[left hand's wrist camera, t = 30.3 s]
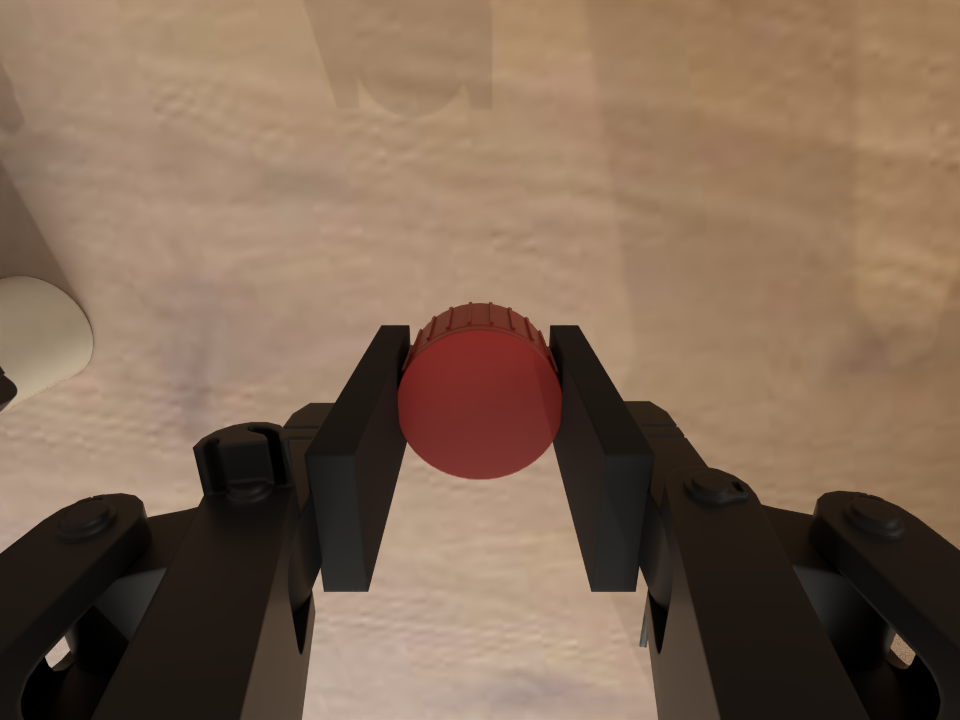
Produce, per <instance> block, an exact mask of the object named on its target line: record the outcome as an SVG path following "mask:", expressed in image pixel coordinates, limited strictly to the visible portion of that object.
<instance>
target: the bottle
mask: <svg viewBox="0 0 960 720" xmlns="http://www.w3.org/2000/svg"><path fill="white" fill-rule="evenodd" d="M92 352H93V335H92V330H91V327H90V324H89V322H88V320H87V318H86V316H85V314H84V313H83V311H82V310H81V309H80V307H79V306H78V305H77V304H76V303H75V301H74V300H73V299H72V298H71V297H69V296H68V295H67V294H66V293H65V292H63V291H62V290H61V289H59V288H57V287H56V286H54V285H52V284H50V283H48V282H46V281H43V280H40V279H37V278H32V277H27V276H11V277H6V278H2V279H0V367H1V368H2V369H3V371H4V372H5V374H4V375H5V376H6V377H7V378H9V379H10V380H11V381H12V382H13V383H14V384H15V385H16V387H17V395H16V396H15V397H14V398H13V400H12V401H11V402H10V403H9V404H8V405H7V406H6V407H5V408H4V409H3V410H2V411H1V412H0V414H1V413H3V412H5V411H7V410H9V409H11V408H13V407H15V406H16V405H18V404H20V403H22V402H24V401H26V400H28V399H30V398H32V397H34V396H36V395H38V394H40V393H42V392H44V391H46V390H48V389H50V388H51V387H53V386H55V385H57V384H59V383H61V382H63V381H65V380H67V379H69V378H71V377H73V376H75V375H76V374H78V373H79V372H81V371H82V370H83V369H84V368H85V367H86V365H87V364H88V362H89V360H90V358H91V355H92Z"/></svg>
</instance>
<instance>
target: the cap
mask: <svg viewBox="0 0 960 720" xmlns="http://www.w3.org/2000/svg"><path fill="white" fill-rule="evenodd" d="M401 372H402V373H403V375H402V378H401V380H400V384H399V387H398V391H397V395H398V412H399V425H400V428H401V430H402V433H403V435H404V437H405V439H406V440H407V442H408V444H409V445H410V446H411V448H412V449H413V450H414V451H415V453H416V454H418V455H419V456H420V457H421V458H422V459H423V460H424V461H425V462H427V463H428V464H430V465H431V466H433V467H434V468H436V469H438V470H440V471H442V472H444V473H447V474H449V475H453V476H456V477H460V478H465V479H475V480H484V479H494V478H500V477H504V476H507V475H510V474H513V473H515V472H518V471H520V470H522V469H523V468H525V467H527V466H529V465H530V464H531V463H533V462H534V461H536V460H537V459H538V458H539V457H540V456H541V455H542V454H543V453H544V452H545V451H546V450H547V448H548V447H549V446H550V444H551V443H552V441H553V440H554V438H555V436H556V434H557V432H558V430H559V427H560V421H561V406H562V388H561V385H560V381H559V378H558V376H557V374H559V371H558V368H557V366H556V363H555V360H554V358H553V355H552V352H551V350H550V347H549V346H548V347H547V346H546V343H545V340H544V338H543V335H542V332H541V331H540V330H539V331H538V330H537V329H536V328H535V327H534V326H533V325H532V324H531V323H530V322H529V319H528V318H527V317H525V318H524V317H523V316H521V315H520V314H518V313H516V312H514V311H512V308H510V307H509V308H505V307H502V306H498V305H493V304H492V302H489V304H484V303H475V304H472V302H469V304H467V305H461V306H458V307H455V308H453V307H450V308H449V310H448V311H445V312H443V313H442V314H440V315H439V316H437V317H435V316H434V317H432V321H431V322H430V323H428V324H427V325H426V327H425V328H424V329H423V330H422V329H420V330H419V332H418V335H417V338H416V341H415V343H414V345H411V346H410V349H409V351H408V354H407V357H406V359H405V362H404V365H403V367H402V370H401Z"/></svg>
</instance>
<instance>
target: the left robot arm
mask: <svg viewBox="0 0 960 720" xmlns="http://www.w3.org/2000/svg"><path fill="white" fill-rule="evenodd" d="M549 347H550V350H551V352H552V355H553V358H554V360H555V363H556V366H557V368H558V371H559V374H557V376H558V378H559V381H560V385H561V388H562V406H561V421H560V427H559V430H558V432H557V434H556V436H555V438H554V440H553V445H554V449H555V453H556V457H557V461H558V464H559V468H560V472H561V476H562V480H563V484H564V488H565V491H566V495H567V499H568V503H569V507H570V511H571V515H572V518H573V522H574V526H575V530H576V534H577V538H578V542H579V545H580V549H581V553H582V557H583V561H584V565H585V569H586V572H587V576H588V580H589V584H590V588H591V592H636V585H637V579H638V572H639V566H640V568H641V571H642V573H643V576H644V578H645V581H646V583H647V586H648V592H647V599H646V605H645V612H644V618H643V624H642V631H641V638H640V645H639V646H640V647H646V646H647V641H648V642H649V650H650V658H651V666H652V673H653V681H654V689H655V697H656V705H657V713H658V720H960V550H958V549H957V548H956V547H955V546H953V545H952V544H951V543H949V542H948V541H947V540H946V539H944V538H943V537H942V536H940V535H939V534H938V533H936V532H935V531H934V530H933V529H931V528H930V527H929V526H927V525H926V524H925V523H923V522H922V521H921V520H920V519H918V518H917V517H915V516H914V515H912V514H910V513H909V512H907V511H906V510H904V509H902V508H901V507H899V506H897V505H894V504H892V503H890V502H887V501H885V500H884V499H882V498H880V497H877V496H873V495H867V494H866V493H860V492H848V491H835V492H829V493H825V494H823V495H822V496H821V497H820V498H819V499H817V503H816V506H815V510H814V513H813V515H809V514H804V513H799V512H794V511H789V510H783V509H778V508H773V507H769V506H765V505H761V503H760V501H759V499H758V497H757V495H756V494H755V493H754V491H753V490H752V489H751V488H750V487H749V485H748V484H746V483H745V482H743V481H742V480H740V479H739V478H737V477H736V476H734V475H731V474H729V473H726V472H724V471H721V470H719V469H714V468H709V467H708V466H707V465H706V464H705V462H704V461H703V460H702V458H701V457H700V456H699V454H698V453H697V452H696V450H695V449H694V448H693V446H692V445H691V443H690V442H689V441H688V439H687V438H684V434H683V433H682V431H681V430H680V429H679V427H676V423H675V422H674V421H673V419H672V418H671V417H670V415H669V414H668V413H667V412H666V411H664V410H663V409H661V408H660V407H658V406H656V405H655V404H653V403H652V402H650V401H623V399H622V398H621V396H620V394H619V393H618V391H617V389H616V388H615V386H614V384H613V383H612V381H611V379H610V378H609V376H608V374H607V373H606V371H605V369H604V368H603V366H602V364H601V363H600V361H599V359H598V358H597V356H596V354H595V353H594V351H593V349H592V348H591V346H590V344H589V343H588V341H587V339H586V338H585V336H584V334H583V333H582V331H581V329H580V328H579V326H578V325H550V341H549ZM409 349H410V328H409V325H381V327H380V329H379V330H378V332H377V334H376V335H375V337H374V339H373V340H372V342H371V344H370V345H369V347H368V349H367V350H366V352H365V354H364V355H363V357H362V359H361V360H360V362H359V364H358V365H357V367H356V369H355V370H354V372H353V374H352V375H351V377H350V379H349V380H348V382H347V384H346V385H345V387H344V389H343V390H342V392H341V394H340V395H339V397H338V399H337V400H336V402H335V403H309V404H308V405H306V406H305V407H303V408H301V409H300V410H298V411H297V412H295V413H293V414H292V416H291V417H290V418H289V420H288V421H287V422H286V424H285V425H284V426H283V427H284V428H283V427H282V426H280V425H277V424H273V423H269V422H249V423H243V424H237V425H232V426H229V427H226V428H223V429H220V430H217V431H215V432H213V433H211V434H210V435H208V436H206V437H204V438H202V439H201V440H200V441H199V442H198V443H197V444H196V445H195V446H194V447H193V450H194V454H195V459H196V463H197V467H198V471H199V476H200V480H201V484H202V488H203V493H204V496H203V498H202V500H201V502H200V504H199V506H198V507H196V508H192V509H188V510H183V511H178V512H173V513H168V514H163V515H158V516H153V517H147V515H146V511H145V508H144V504H143V502H142V501H141V500H140V499H139V498H138V497H136V496H134V495H129V494H123V493H118V494H106V495H105V494H104V495H98V496H93V498H91V497H89V498H86V499H82V500H80V501H78V502H76V503H74V504H72V505H70V506H67V507H65V508H63V509H61V510H59V511H57V512H56V513H54V514H53V515H51V516H49V517H48V518H46V519H45V520H43V521H42V522H40V523H39V524H38V525H37V526H35V527H34V528H33V529H31V530H30V531H29V532H28V533H26V534H25V535H24V536H22V537H21V538H20V539H19V540H17V541H16V542H15V543H13V544H12V545H11V546H10V547H8V548H7V549H6V550H4V551H3V552H2V553H1V554H0V720H302V714H303V706H304V698H305V690H306V682H307V675H308V667H309V659H310V651H311V643H312V635H313V627H314V619H315V606H314V599H313V592H312V588H313V585H314V583H315V580H316V578H317V575H318V573H319V570H320V567H321V574H322V581H323V588H324V592H368V590H369V587H370V583H371V579H372V575H373V571H374V567H375V563H376V560H377V556H378V552H379V548H380V544H381V540H382V536H383V533H384V529H385V525H386V521H387V517H388V513H389V509H390V506H391V502H392V498H393V494H394V490H395V486H396V482H397V479H398V475H399V471H400V467H401V463H402V459H403V455H404V452H405V448H406V444H407V440H406V439H405V437H404V435H403V433H402V430H401V428H400V425H399V412H398V395H397V391H398V387H399V384H400V380H401V378H402V375H403V373H402V372H401V370H402V367H403V365H404V362H405V359H406V357H407V354H408V351H409ZM896 633H897V634H898V635H899V636H900V637H901V638H902V639H903V640H904V641H905V643H906V644H907V645H908V646H909V647H910V648H911V649H912V650H913V651H914V652H915V653H916V655H915V657H914V660H913V662H912V664H911V665H910V666H908V665H906V664H905V663H904V662H903V661H902V660H901V659H900V658H899V657H898V656H897V655H896V654H895V653H894V652H893V651H892V650H891V648H890V647H891V645H892V642H893V640H894V637H895V635H896ZM63 636H65V638H66V641H67V643H68V646H69V648H70V651H69V652H68V653H67V655H66V656H65V657H64V658H63V659H62V660H61V661H60V662H59V663H57V664H56V665H55V666H54V667H52V668H51V667H50V666H49V665H48V663H47V661H46V658H45V656H46V655H47V654H48V653H49V651H50V650H51V649H52V648H53V647H54V646H55V645H56V644H57V643H58V642H59V641H60V640H61V639H62V637H63Z"/></svg>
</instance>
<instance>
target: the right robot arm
mask: <svg viewBox="0 0 960 720" xmlns="http://www.w3.org/2000/svg"><path fill="white" fill-rule="evenodd" d="M4 374H5V372H4V371H3V369H2V368H1V367H0V412H1V411H2V410H3V409H4V408H5V407H6V406H7V405H8V404H9V403H10V402H11V401H12V400H13V398H14V397H15V396H16V395H17V387H16V385H15V384H14V383H13V382H12V381H11V380H10V379H9V378H7V377H6V376H5V375H4Z"/></svg>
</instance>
